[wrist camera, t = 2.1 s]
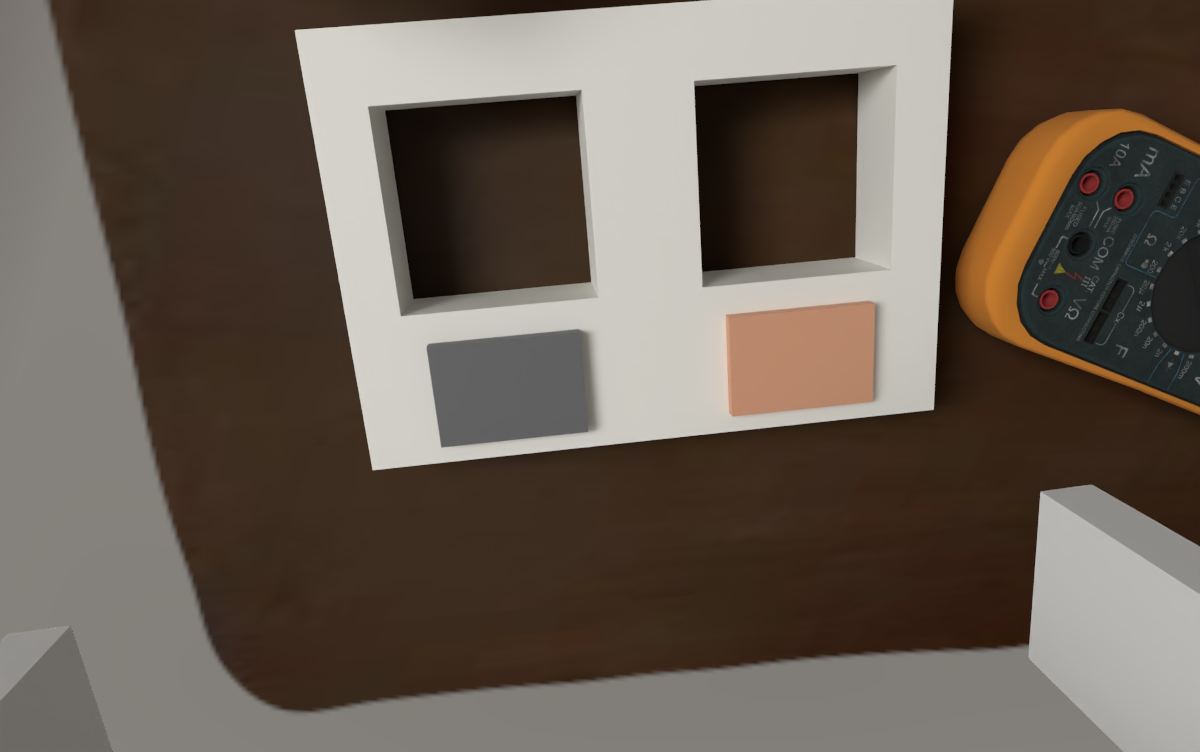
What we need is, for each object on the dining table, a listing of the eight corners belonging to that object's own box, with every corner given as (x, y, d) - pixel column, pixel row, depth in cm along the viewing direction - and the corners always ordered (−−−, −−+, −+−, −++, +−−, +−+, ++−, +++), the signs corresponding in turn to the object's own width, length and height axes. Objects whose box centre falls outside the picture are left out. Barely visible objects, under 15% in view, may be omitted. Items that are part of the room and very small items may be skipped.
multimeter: (1026, 90, 29) (1090, 83, 25) (1391, 262, 32) (1490, 276, 29) (919, 306, 31) (966, 325, 27) (1273, 447, 34) (1353, 480, 31)
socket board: (908, -1, 27) (962, -21, 24) (896, 385, 31) (940, 414, 28) (320, 42, 26) (289, 27, 22) (387, 438, 30) (369, 475, 26)
